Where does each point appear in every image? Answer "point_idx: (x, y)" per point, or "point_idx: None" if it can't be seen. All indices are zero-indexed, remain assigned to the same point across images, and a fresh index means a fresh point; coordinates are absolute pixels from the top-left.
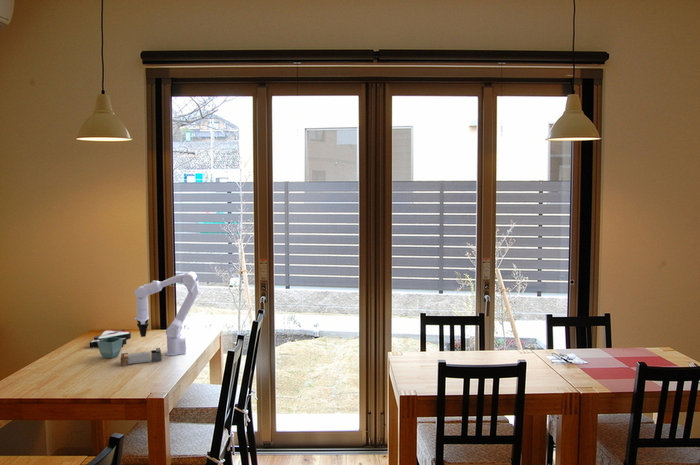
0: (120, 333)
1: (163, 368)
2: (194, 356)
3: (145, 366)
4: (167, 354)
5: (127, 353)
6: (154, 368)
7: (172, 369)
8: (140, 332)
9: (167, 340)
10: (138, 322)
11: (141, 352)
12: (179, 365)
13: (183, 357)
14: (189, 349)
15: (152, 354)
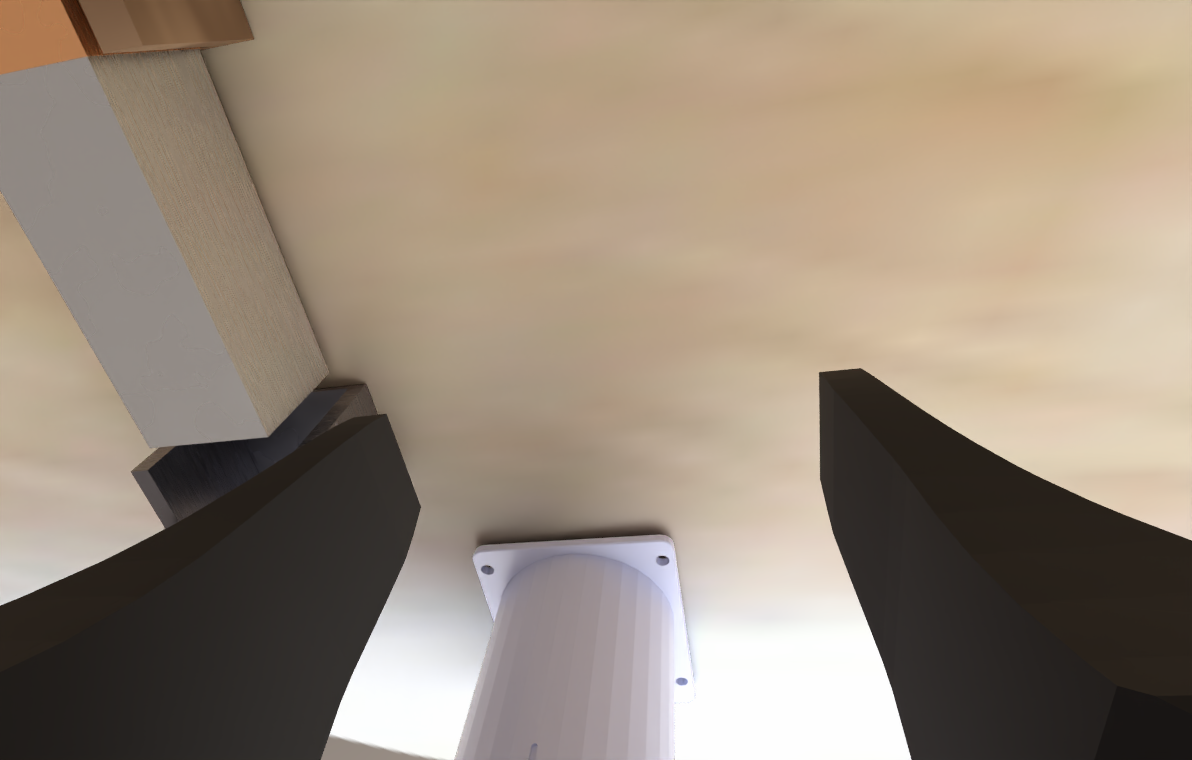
0: None
1: (27, 523)
2: (430, 744)
3: (53, 341)
4: (494, 557)
5: (98, 39)
6: (5, 443)
7: (18, 592)
8: (235, 500)
9: (498, 727)
10: (1036, 651)
11: (200, 316)
12: None
13: (406, 673)
14: (701, 725)
15: (145, 476)
